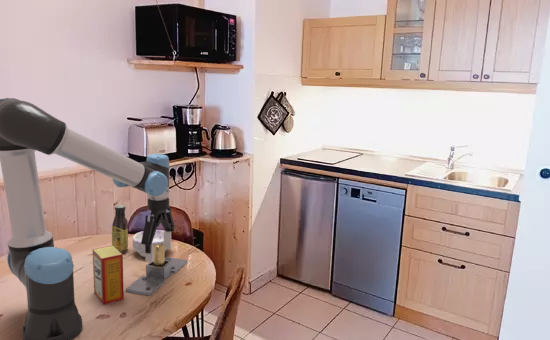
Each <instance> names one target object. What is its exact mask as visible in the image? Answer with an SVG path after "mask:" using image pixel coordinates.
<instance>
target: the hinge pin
mask: <svg viewBox="0 0 550 340" xmlns="http://www.w3.org/2000/svg"><path fill="white" fill-rule="evenodd" d="M153 251H154V261H153V266H156V267H163V266H165V258H166V257H165V254H166V251H165V245H164V244H155V245H153Z"/></svg>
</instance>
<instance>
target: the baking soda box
mask: <svg viewBox="0 0 550 340" xmlns="http://www.w3.org/2000/svg"><path fill="white" fill-rule="evenodd" d="M92 268H93V292H94V295H95V296H96V298H98V300H99V301H100V302H101V303H102V305H104V306H105V305H108V304H111V303H115V302H119V301H122V300H124V297H125V296H124V291H125V290H124V288H125V287H124V259H123V253H122V254H121V253H120V252H119V251H118V250H117V249H116V248H115V247H114V246H113V245H112V244H111V245H108V246H102V247H98V248H92Z"/></svg>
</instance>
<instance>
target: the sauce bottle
mask: <svg viewBox="0 0 550 340" xmlns="http://www.w3.org/2000/svg"><path fill="white" fill-rule="evenodd" d="M114 210H115V211H114V214H115V216H114V218H113V221H112V225H111V246H112V245H113V246H114V247H115V248H116V249H117V250H118V251H119V252H120V253H121V254H122V255H123V254H125V253H127V251H128V248H129V228H128V227H129V225H128V224H129V223H128V219H127V217H126V205H125V204H117V205H115V206H114Z"/></svg>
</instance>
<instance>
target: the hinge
mask: <svg viewBox="0 0 550 340" xmlns="http://www.w3.org/2000/svg"><path fill="white" fill-rule="evenodd" d="M188 261H189V260H187V259H184V258H183V259H182V258H177V257H176V258H175V257H171V256H168V257H165V266H163V267H156V266H153V262H150V261H148V262H147V264H146V265H145V275H142V276H141V277H139V278H138V279H137V280H135V281H134V282H133V283H132V284H130V285H129V286H128V287H126V288H125V292H126V293H129V294H130V293H131V294H136V295H141V296H147V297H149V296H150V297H151V296H152V294H153V293H155V292H156V291H157V290H158V289H159V288H160V287H162V286H163V285H164V284H165V283H166V280H167V279H168V278H169V277H171V275H172V274H175V275H176V273H177V272H178V271H180V270H179V269H182V268H183V267H184V266H185V265H187V263H188Z"/></svg>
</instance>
